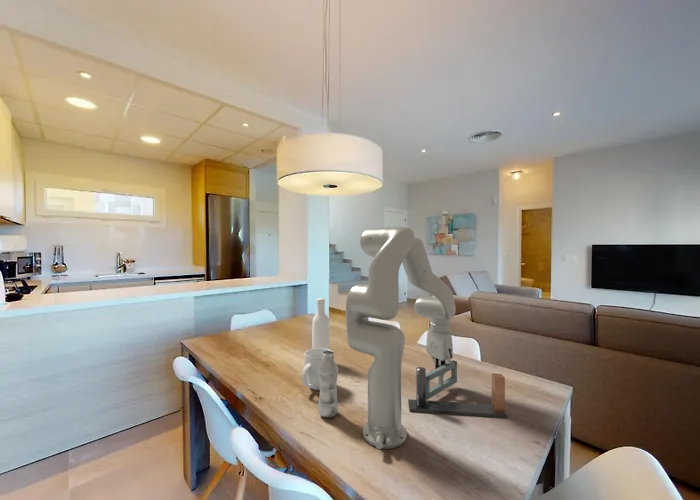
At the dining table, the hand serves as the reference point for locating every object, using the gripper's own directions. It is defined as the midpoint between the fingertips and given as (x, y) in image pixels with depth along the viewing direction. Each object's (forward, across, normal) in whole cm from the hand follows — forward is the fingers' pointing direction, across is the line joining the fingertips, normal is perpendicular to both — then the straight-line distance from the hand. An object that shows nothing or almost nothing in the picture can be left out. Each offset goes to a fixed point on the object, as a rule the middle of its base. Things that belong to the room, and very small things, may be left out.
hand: (439, 374), depth 114 cm
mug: (+5, -21, -42) cm, 48 cm away
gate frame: (+5, +14, -7) cm, 17 cm away
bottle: (+5, -43, -32) cm, 54 cm away
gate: (+3, +5, -4) cm, 7 cm away
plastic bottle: (+5, -2, -46) cm, 46 cm away
